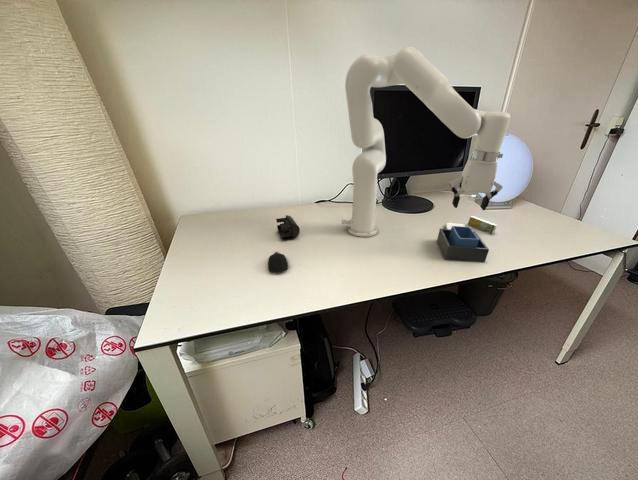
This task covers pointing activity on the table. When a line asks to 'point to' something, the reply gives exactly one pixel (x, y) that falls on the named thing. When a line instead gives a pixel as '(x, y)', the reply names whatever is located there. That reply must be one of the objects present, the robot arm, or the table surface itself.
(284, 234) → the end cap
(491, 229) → the medication box
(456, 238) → the blue bin
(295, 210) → the table surface
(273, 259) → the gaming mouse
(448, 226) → the hard drive
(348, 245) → the table surface
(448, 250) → the box
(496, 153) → the robot arm
